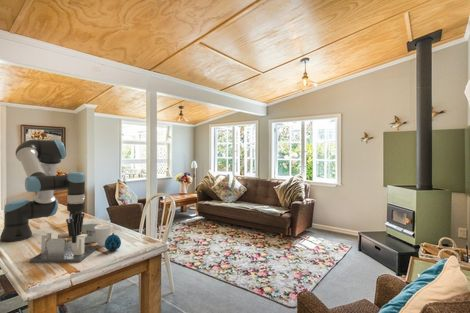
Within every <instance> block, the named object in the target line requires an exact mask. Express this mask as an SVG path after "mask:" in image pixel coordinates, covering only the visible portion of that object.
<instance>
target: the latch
mask: <svg viewBox="0 0 470 313" xmlns="http://www.w3.org/2000/svg"><path fill="white" fill-rule="evenodd" d="M85 237H87V234H82V233H81V235H79V248H78V249H73V255H82V254H83V253H84V246H85V243H84V242H85Z"/></svg>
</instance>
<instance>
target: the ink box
mask: <svg viewBox="0 0 470 313" xmlns="http://www.w3.org/2000/svg"><path fill="white" fill-rule="evenodd" d="M98 225H99V220H98V219H93V220H85V221H84V220H83V225H82V232H81V234H87V237H85V242H84V244H88V243H89V244H90V243H91V244H92V243H97V239H96V233H95V228H94V227H95V226H98Z"/></svg>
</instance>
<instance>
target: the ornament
mask: <svg viewBox="0 0 470 313" xmlns="http://www.w3.org/2000/svg"><path fill="white" fill-rule="evenodd" d="M121 244H122V239H121V238H120V236H118V234H115V233H114V232H113V233H112V232H111V235H110V236H109V237H108V238H107V239H106V241H105V246H104V248H105V249H106V251H111V252H113V251H117V250H118V249H120V247H121Z"/></svg>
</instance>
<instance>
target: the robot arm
mask: <svg viewBox="0 0 470 313" xmlns="http://www.w3.org/2000/svg"><path fill="white" fill-rule="evenodd" d="M66 154H67V153H66V148H65V145H64V143H63V141H61V140H53V139H49V140H48V139H29V140H25V141H22V143H20V144H19V145H18V146H17V148H16V149H15V157H16V159H17V160H18V161H19V162H20V163H21V165H22V167H23V170H24V172H25V174H26V177H25V179H24V187H25V191H26V192H27V193H34V192H35V193H37V194H36V195H35V196H34V197H33V200H29V199H28V198H21V199H16V200H12V201H9V202H7V203H6V204H4V208H3V214H4V215H3V216H4V217H3V218H4V220H3V222H4V223H3V229H2V232H1V234H0V242H2V243H3V242H4V243H6V242H7V243H11V242H18V241H24V240H27V239H29V238H31V237H32V236H33V231H32V230H31V227H30V224H29V220H34V219H40V218H41V219H42V218H49V217H53V216H54V215H56V214H57V212H58V208H59V200H58V199H57V198H56V196H55V195H54V191H60V190H61V191H62V190H67V194H66V195H67V196H66V197H67V198H66V199H67V200H66V201H67V202H66V203H67V205H66V210H67V211H68V212H69V215H68V216H69V217H68V218H66V219H65V222H66V224H67V231H68V232H67V234H69V236H70V237H72V249H78V248H79V235H81V234H82V225H83V222H84V217H85V213H84V212H83V211H84V210H85V198H86V195H85V190H86V188H85V187H86V176H85V173H84V172H81V171H80V172H79V171H76V172H75V171H74V172H69V173H67V174H66V173H65V174H63V175H62V174H60V175H59V174H58V175H57V171H58V165H59V164H61V162H62V160H64V159H65V158H66Z"/></svg>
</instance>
